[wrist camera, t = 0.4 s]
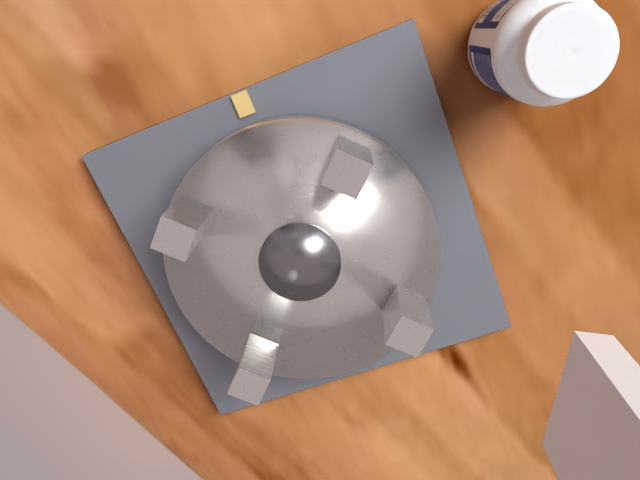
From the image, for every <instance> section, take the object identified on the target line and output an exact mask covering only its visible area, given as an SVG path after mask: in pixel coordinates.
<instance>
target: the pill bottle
mask: <svg viewBox="0 0 640 480" xmlns="http://www.w3.org/2000/svg"><path fill="white" fill-rule="evenodd" d="M618 53H619V34H618V31H617V27H616V25H615V23H614V21H613V20H612V18H611V17H610V16H609V14H608V13H607V12H605V11H604V10H603V9H601V8H599V6H598V5H597V4H596V3H595V2H594V1H593V0H498V1H496V2H495V3H493V4H492V5H490V6H489V7H488V8H487V9H486V10H484V11H483V12H482V14H481V15H480V16H479V17H478V19H477V20H476V21H475V23H474V25H473V27H472V30H471V33H470V36H469V41H468V59H469V63H470V66H471V68H472V70H473V72H474V74H475V75H476V77H477V78H478V79H479V80H480V81H481V82H482V83H483V84H485V85H486V86H488V87H489V88H491V89H493V90H495V91H497V92H500V93H502V94H504V95H506V96H509V97H511V98H513V99H515V100H518V101H520V102H522V103H525V104H528V105H533V106H541V107H546V106H555V105H559V104H562V103H565V102H568V101H570V100H572V99H574V98H577V97H580V96H583V95H585V94H588V93H589V92H591V91H593V90H594V89H596V88H597V87H598V86H600V85H601V84H602V83H603V82H604V81H605V79H606V78H607V77H608V76H609V74H610V73H611V71H612V69H613V68H614V66H615V63H616V60H617V57H618Z"/></svg>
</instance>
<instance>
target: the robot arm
mask: <svg viewBox="0 0 640 480" xmlns="http://www.w3.org/2000/svg"><path fill="white" fill-rule="evenodd" d="M542 445H543V447H544V449H545V451H546V454H547V456H548V458H549V460H550V463H551V465H552V467H553V469H554V471H555V474H556V476H557V478H558V480H640V366H639V365H638V364H637V363H636V362H635V360H634V359H633V358H632V357H631V356H630V355H629V353H628V352H627V351H626V350H625V349H624V347H623V346H622V345H621V344H620V343H619V342H618V340H617V339H616V338H615V337H614V336H613V335H605V334H596V333H587V332H579V331H574V334H573V338H572V341H571V345H570V348H569V352H568V355H567V359H566V362H565V366H564V369H563V373H562V376H561V380H560V383H559V386H558V390H557V393H556V397H555V400H554V404H553V407H552V411H551V414H550V418H549V421H548V425H547V428H546V432H545V435H544V439H543V442H542Z"/></svg>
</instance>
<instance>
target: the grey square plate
mask: <svg viewBox="0 0 640 480" xmlns="http://www.w3.org/2000/svg"><path fill="white" fill-rule="evenodd" d="M288 114H312V115H323V116H327V117H332V118H336V119H341V120H343V121H346V122H349V123H351V124H354V125H357V126H359V127H361V128H363V129H365V130H367V131H369V132H370V133H372V134H374V135H376V136H377V137H379V138H380V139H381V140H383V141H384V142H386V143H387V144H388V145H390V146H391V147H392V148H393V149H394V150H395V151H396V152H397V153H398V154H399V155H400V156H401V157H402V158H403V159H404V160H405V161H406V163H407V164H408V165H409V166H410V168H411V169H412V170H413V171H414V173H415V175H416V176H417V178H418V180H419V181H420V183H421V185H422V186H423V189H424V191H425V193H426V196H427V198H428V200H429V203H430V205H431V207H432V210H433V212H434V215H435V218H436V222H437V226H438V230H439V236H440V245H441V266H440V272H439V278H438V283H437V286H436V289H435V292H434V296H433V299H432V301H431V303H430V305H429V307H428V308H429V312H430V316H431V319H432V323H433V327H434V331H433V332H432V334H431V336H430V338H429V339H428V341H427V343H426V344H425V346H424V348H423V350H422V351H421V353H420V354H424V353H427V352H430V351H433V350H437V349H440V348H443V347H447V346H450V345H453V344H457V343H460V342H463V341H466V340H470V339H473V338H476V337H480V336H483V335H486V334H489V333H493V332H496V331H499V330H503V329H506V328H509V327H511V324H510V321H509V317H508V314H507V311H506V308H505V305H504V302H503V298H502V295H501V292H500V289H499V286H498V283H497V280H496V276H495V273H494V270H493V267H492V264H491V261H490V258H489V254H488V251H487V248H486V245H485V242H484V239H483V235H482V232H481V229H480V226H479V223H478V220H477V217H476V213H475V210H474V207H473V204H472V201H471V198H470V194H469V191H468V188H467V185H466V182H465V179H464V176H463V172H462V169H461V166H460V163H459V160H458V157H457V154H456V150H455V147H454V144H453V141H452V138H451V135H450V131H449V128H448V125H447V122H446V119H445V116H444V113H443V109H442V106H441V103H440V100H439V97H438V94H437V91H436V87H435V84H434V81H433V78H432V75H431V72H430V68H429V65H428V62H427V59H426V56H425V53H424V50H423V46H422V43H421V40H420V37H419V34H418V31H417V27H416V24H415V21H414V19H410V20H408V21H406V22H403V23H401V24H398V25H396V26H393V27H391V28H389V29H386V30H384V31H381V32H379V33H376V34H374V35H372V36H369V37H367V38H364V39H362V40H360V41H357V42H355V43H352V44H350V45H347V46H345V47H343V48H340V49H338V50H335V51H333V52H330V53H328V54H326V55H323V56H321V57H318V58H316V59H314V60H311V61H309V62H306V63H304V64H301V65H299V66H297V67H294V68H292V69H289V70H287V71H284V72H282V73H280V74H277V75H275V76H272V77H270V78H268V79H265V80H263V81H260V82H258V83H255V84H253V85H251V86H248V87H246V88H243V89H241V90H238V91H236V92H234V93H231V94H229V95H226V96H224V97H222V98H219V99H217V100H214V101H212V102H209V103H207V104H205V105H202V106H200V107H197V108H195V109H192V110H190V111H188V112H185V113H183V114H180V115H178V116H176V117H173V118H171V119H168V120H166V121H163V122H161V123H159V124H156V125H154V126H151V127H149V128H146V129H144V130H142V131H139V132H137V133H134V134H132V135H130V136H127V137H125V138H122V139H120V140H117V141H115V142H113V143H110V144H108V145H105V146H103V147H100V148H98V149H96V150H93V151H91V152H88V153H86V154H84V155H82V156H81V157H82V158H83V160H84V162H85V164H86V166H87V168H88V170H89V171H90V173H91V175H92V177H93V179H94V181H95V183H96V184H97V186H98V188H99V190H100V192H101V194H102V195H103V197H104V199H105V201H106V203H107V205H108V207H109V208H110V210H111V212H112V214H113V216H114V218H115V220H116V221H117V223H118V225H119V227H120V229H121V231H122V233H123V234H124V236H125V238H126V240H127V242H128V244H129V246H130V247H131V249H132V251H133V253H134V255H135V257H136V259H137V260H138V262H139V264H140V266H141V268H142V270H143V272H144V273H145V275H146V277H147V279H148V281H149V283H150V285H151V286H152V288H153V290H154V292H155V294H156V296H157V298H158V299H159V301H160V303H161V305H162V307H163V309H164V311H165V312H166V314H167V316H168V318H169V320H170V322H171V323H172V325H173V327H174V329H175V331H176V333H177V335H178V336H179V338H180V340H181V342H182V344H183V346H184V348H185V349H186V351H187V353H188V355H189V357H190V359H191V361H192V362H193V364H194V366H195V368H196V370H197V372H198V374H199V375H200V377H201V379H202V381H203V383H204V385H205V387H206V388H207V390H208V392H209V394H210V396H211V398H212V400H213V401H214V403H215V405H216V407H217V409H218V411H219V413H220V414H221V415H223V414H226V413H229V412H233V411H236V410H239V409H242V408H246V407H249V406H252V405H254V404H252V403H249V402H246V401H244V400H241V399H239V398H236V397H234V396H231V395H228V394H227V392H228V389H229V386H230V383H231V380H232V377H233V374H234V371H235V369H236V366H237V363H238V362H236V361H234V360H232V359H231V358H229V357H227V356H226V355H224V354H222V353H221V352H220V351H218V350H217V349H216V348H214V347H213V346H212V345H211V344H209V343H208V342H207V341H206V340H205V339H204V338H203V337H202V336H201V335H200V334H199V333H198V332H197V331H196V330H195V329H194V327H193V326H192V325H191V324H190V322H189V321H188V320H187V319H186V317H185V316H184V314H183V312H182V311H181V309H180V307H179V306H178V304H177V302H176V300H175V298H174V295H173V293H172V291H171V289H170V286H169V282H168V279H167V276H166V272H165V266H164V259H163V253H161V252H159V251H156V250H154V249H151V248H150V246H151V243H152V240H153V237H154V235H155V232H156V229H157V226H158V223H159V220H160V217H161V215H162V214H163V213H164V212H165V211H166V210H167V209H168V208H169V205H170V203H171V201H172V198H173V196H174V194H175V191H176V189H177V188H178V186H179V185H180V183H181V181H182V180H183V178H184V176H185V175H186V174H187V173H188V171H189V170H190V169H191V168H192V167H193V165H194V164H195V163H196V162H197V161H198V160H199V159H200V158H201V157H202V156H203V155H205V154H206V153H207V152H208V151H209V150H210V149H211V148H212V147H214V146H215V145H216V144H217V143H218V142H219V141H221V140H222V139H224V138H225V137H227V136H228V135H230V134H231V133H233V132H234V131H236V130H238V129H240V128H242V127H244V126H246V125H248V124H250V123H253V122H256V121H260V120H263V119H266V118H270V117H275V116H281V115H288ZM410 357H414V356H412V355H410V354H407V353H405V352H402V351H400V350H398V349H394V350H393V351H391V352H390V353H388V354H387V355H385V356H384V357H382V358H381V359H380V360H378V361H376V362H374V363H372V364H370V365H368V366H366V367H364V368H361V369H358V370H356V371H353V372H350V373H347V374H342V375H338V376H334V377H327V378H319V379H295V378H285V377H279V376H274V375H272V376H271V380H270V382H269V385H268V387H267V389H266V391H265V393H264V395H263V397H262V399H261V401H260V403H262V402H266V401H269V400H272V399H275V398H279V397H282V396H285V395H289V394H292V393H295V392H298V391H302V390H305V389H308V388H312V387H315V386H318V385H322V384H325V383H328V382H331V381H335V380H338V379H341V378H345V377H348V376H351V375H354V374H358V373H361V372H364V371H368V370H371V369H374V368H377V367H381V366H384V365H387V364H391V363H394V362H397V361H401V360H404V359H407V358H410Z"/></svg>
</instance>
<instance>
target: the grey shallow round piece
mask: <svg viewBox="0 0 640 480" xmlns="http://www.w3.org/2000/svg"><path fill="white" fill-rule="evenodd" d="M150 248H151V249H154V250H156V251H159V252H161V253H163V259H164V266H165V272H166V276H167V279H168V282H169V286H170V289H171V291H172V293H173V295H174V298H175V300H176V302H177V304H178V306H179V307H180V309H181V311H182V312H183V314H184V316H185V317H186V319H187V320H188V321H189V322H190V324H191V325H192V326H193V327H194V329H195V330H196V331H197V332H198V333H199V334H200V335H201V336H202V337H203V338H204V339H205V340H206V341H207V342H208V343H209V344H211V345H212V346H213V347H214V348H216V349H217V350H218V351H220V352H221V353H222V354H224V355H226V356H227V357H229V358H231V359H232V360H234V361H236V362H238V363H237V366H236V369H235V371H234V374H233V377H232V380H231V383H230V386H229V389H228V392H227V394H228V395H231V396H234V397H236V398H239V399H241V400H244V401H246V402H249V403H252V404H254V405H257V406H258V405H259V403H260V401H261V399H262V397H263V395H264V393H265V391H266V389H267V387H268V385H269V382H270V380H271V376H272V375H274V376H279V377H285V378H295V379H319V378H327V377H334V376H338V375H342V374H347V373H350V372H353V371H356V370H358V369H361V368H364V367H366V366H368V365H370V364H372V363H374V362H376V361H378V360H380V359H381V358H382V357H384V356H385V355H387V354H388V353H390V352H391V351H393V350H394V349H398V350H400V351H402V352H405V353H407V354H410V355H412V356H415V357H417V358H418V356H419V355H420V353H421V351H422V350H423V348H424V346H425V344H426V343H427V341H428V339H429V338H430V336H431V334H432V332H433V331H434V327H433V323H432V319H431V316H430V312H429V308H428V307H429V305H430V303H431V301H432V299H433V296H434V292H435V289H436V286H437V283H438V278H439V272H440V266H441V245H440V236H439V230H438V226H437V222H436V218H435V215H434V212H433V210H432V207H431V205H430V203H429V200H428V198H427V196H426V193H425V191H424V189H423V186H422V185H421V183H420V181H419V180H418V178H417V176H416V175H415V173H414V171H413V170H412V169H411V168H410V166H409V165H408V164H407V163H406V161H405V160H404V159H403V158H402V157H401V156H400V155H399V154H398V153H397V152H396V151H395V150H394V149H393V148H392V147H391V146H390V145H388V144H387V143H386V142H384V141H383V140H381V139H380V138H379V137H377V136H376V135H374V134H372V133H370V132H369V131H367V130H365V129H363V128H361V127H359V126H357V125H354V124H351V123H349V122H346V121H343V120H341V119H336V118H332V117H327V116H323V115H312V114H288V115H281V116H275V117H270V118H266V119H263V120H260V121H256V122H253V123H250V124H248V125H246V126H244V127H242V128H240V129H238V130H236V131H234V132H233V133H231V134H230V135H228V136H227V137H225V138H224V139H222V140H221V141H219V142H218V143H217V144H216V145H215V146H214V147H212V148H211V149H210V150H209V151H208V152H207V153H206V154H205V155H203V156H202V157H201V158H200V159H199V160H198V161H197V162H196V163H195V164H194V165H193V167H192V168H191V169H190V170H189V171H188V173H187V174H186V175H185V176H184V178H183V180H182V181H181V183H180V185H179V186H178V188H177V189H176V191H175V194H174V196H173V198H172V201H171V203H170V205H169V208H168V209H167V210H166V211H165V212H164V213H163V214H162V215H161V217H160V220H159V223H158V226H157V229H156V232H155V235H154V237H153V240H152V243H151V246H150Z"/></svg>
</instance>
